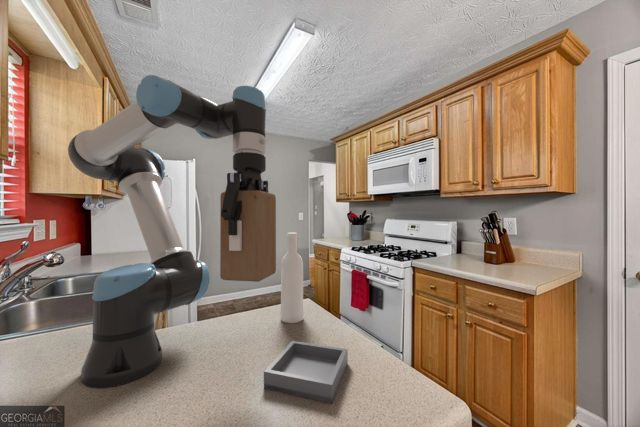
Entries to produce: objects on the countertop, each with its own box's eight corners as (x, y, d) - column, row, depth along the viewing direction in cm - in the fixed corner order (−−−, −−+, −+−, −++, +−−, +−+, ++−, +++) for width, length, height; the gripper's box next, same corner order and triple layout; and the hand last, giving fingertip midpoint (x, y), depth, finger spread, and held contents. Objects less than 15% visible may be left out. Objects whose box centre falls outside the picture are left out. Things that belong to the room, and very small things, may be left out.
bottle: (281, 324, 88) (282, 233, 88) (279, 316, 95) (279, 232, 96) (305, 322, 90) (305, 233, 91) (301, 314, 98) (301, 232, 98)
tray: (263, 388, 55) (263, 371, 55) (292, 354, 69) (292, 340, 69) (331, 403, 50) (331, 385, 50) (347, 363, 64) (347, 349, 64)
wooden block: (260, 282, 57) (260, 189, 57) (218, 281, 59) (218, 190, 59) (277, 273, 67) (277, 193, 67) (240, 272, 69) (240, 195, 69)
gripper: (233, 139, 51) (233, 254, 51) (284, 163, 73) (285, 243, 73) (201, 143, 54) (201, 253, 53) (260, 165, 76) (260, 243, 75)
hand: (249, 247), depth 63 cm, fingers closed on wooden block, 10 cm apart
